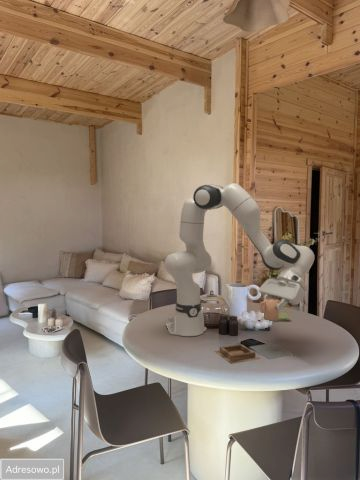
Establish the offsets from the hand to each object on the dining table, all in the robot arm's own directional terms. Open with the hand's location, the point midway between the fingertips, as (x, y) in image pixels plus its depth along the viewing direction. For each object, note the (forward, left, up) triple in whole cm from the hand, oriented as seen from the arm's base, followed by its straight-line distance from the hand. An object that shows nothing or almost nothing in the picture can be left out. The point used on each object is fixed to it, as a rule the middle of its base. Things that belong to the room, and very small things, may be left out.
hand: (270, 306), depth 145 cm
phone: (-33, +19, -20) cm, 43 cm away
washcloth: (-43, +32, -20) cm, 58 cm away
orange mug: (0, 0, -5) cm, 5 cm away
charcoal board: (0, +1, -20) cm, 20 cm away
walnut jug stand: (-1, -14, -20) cm, 24 cm away
